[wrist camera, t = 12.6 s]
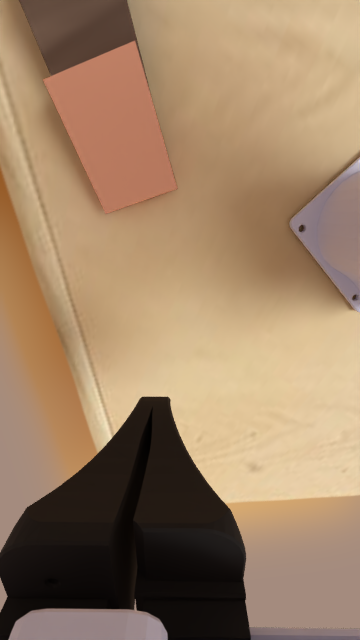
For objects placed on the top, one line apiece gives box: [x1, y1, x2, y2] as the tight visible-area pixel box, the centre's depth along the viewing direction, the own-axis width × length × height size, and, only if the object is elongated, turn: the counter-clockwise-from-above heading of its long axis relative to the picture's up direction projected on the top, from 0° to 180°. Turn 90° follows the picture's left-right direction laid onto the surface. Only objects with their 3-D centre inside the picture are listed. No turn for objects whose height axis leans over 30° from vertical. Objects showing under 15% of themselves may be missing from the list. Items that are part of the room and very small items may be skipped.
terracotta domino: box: [43, 41, 177, 214], centre depth 16 cm, size 2×5×7 cm
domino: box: [19, 0, 150, 91], centre depth 15 cm, size 2×5×7 cm
